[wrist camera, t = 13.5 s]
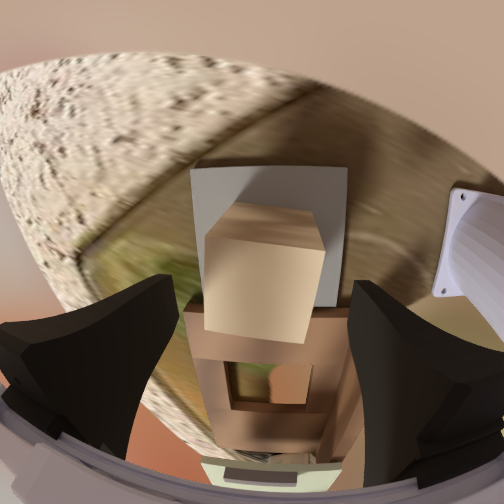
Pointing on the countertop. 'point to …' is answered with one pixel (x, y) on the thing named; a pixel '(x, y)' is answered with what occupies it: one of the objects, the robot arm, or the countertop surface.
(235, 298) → the block
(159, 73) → the countertop surface
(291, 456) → the syrup box
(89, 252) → the countertop surface
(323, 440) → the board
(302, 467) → the cover
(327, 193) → the mat
